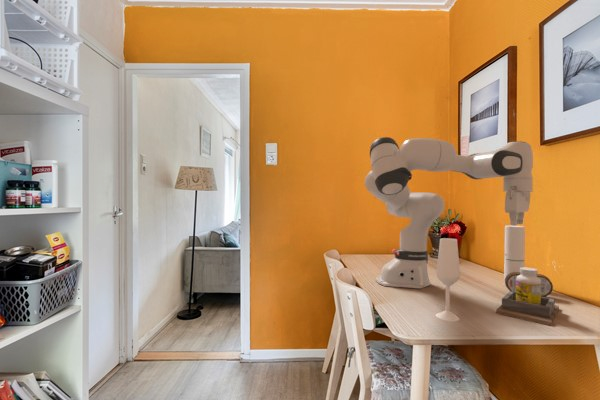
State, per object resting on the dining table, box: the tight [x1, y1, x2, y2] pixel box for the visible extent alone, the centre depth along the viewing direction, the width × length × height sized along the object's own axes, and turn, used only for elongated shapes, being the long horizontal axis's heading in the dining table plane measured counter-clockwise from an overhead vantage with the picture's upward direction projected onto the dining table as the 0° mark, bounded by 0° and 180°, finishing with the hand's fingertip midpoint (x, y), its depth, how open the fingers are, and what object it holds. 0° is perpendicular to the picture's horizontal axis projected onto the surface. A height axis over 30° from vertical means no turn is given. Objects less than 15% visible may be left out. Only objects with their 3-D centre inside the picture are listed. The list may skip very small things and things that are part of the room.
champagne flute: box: [435, 237, 461, 322], centre depth 99 cm, size 7×7×24 cm
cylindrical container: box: [503, 224, 526, 285], centre depth 137 cm, size 7×7×25 cm
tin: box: [504, 272, 554, 297], centre depth 122 cm, size 15×3×8 cm, turn 65°
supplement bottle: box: [516, 266, 541, 305], centre depth 105 cm, size 7×7×13 cm
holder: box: [495, 290, 560, 326], centre depth 105 cm, size 20×14×4 cm
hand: (516, 224), depth 117 cm, fingers open, 8 cm apart
